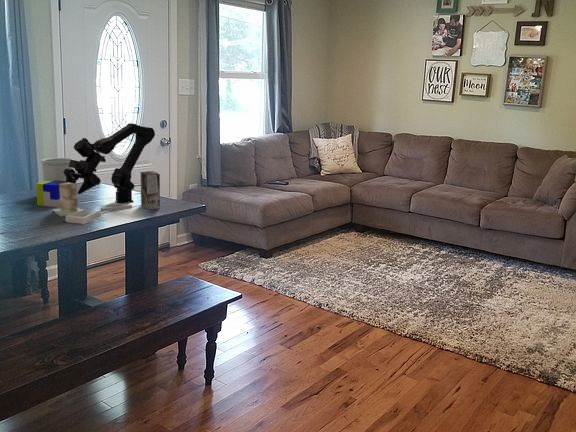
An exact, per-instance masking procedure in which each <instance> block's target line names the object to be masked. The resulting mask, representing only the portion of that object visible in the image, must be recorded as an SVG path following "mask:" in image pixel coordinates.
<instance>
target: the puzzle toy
mask: <svg viewBox="0 0 576 432" xmlns="http://www.w3.org/2000/svg"><path fill="white" fill-rule="evenodd" d="M62 183H66V181H57V180H46V181H44V180H43V181H40V182H37V183H35V188H36V189H35V190H36V205H37V206H42V207H43V206H45V207H53V208H58V207H60V189H59V184H62Z"/></svg>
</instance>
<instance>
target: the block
mask: <svg viewBox="0 0 576 432" xmlns="http://www.w3.org/2000/svg"><path fill="white" fill-rule="evenodd" d="M77 187H78V186H77V183H75V184H74V183H70V182H68V183H62V184H59V189H60V206H59V207H60V208H59V209H61V211H63V212H67V213H70V212H74V211H78V208H79V207H78V188H77Z"/></svg>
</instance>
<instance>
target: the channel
mask: <svg viewBox="0 0 576 432" xmlns="http://www.w3.org/2000/svg"><path fill="white" fill-rule="evenodd" d="M81 209H82V210H79V211H77V212H74V213H72V214H69V215H67V216H64V217H65V222H66V223H72V224H80V225H81V224H83V225H85V224H87V223H89V222H92V221H94V220H96V219H98V218H101V217H102V216H101V215H102V213H101V212H102V211H101V210H96V211H94V212H92V213H89V214H87V212H86V211H87V210H86V208H81Z"/></svg>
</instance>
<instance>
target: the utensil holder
mask: <svg viewBox="0 0 576 432" xmlns="http://www.w3.org/2000/svg"><path fill="white" fill-rule="evenodd" d="M70 160H75V159H74V158H71V157H50V158H49V157H48V158H42V159H41V161H40V162H41V164H42V177H43V181H46V180H57V181H66V176H65V175H64V173H63V172H64V170H65V169H67V168H69V169H73V170H74V171H75V168H72V167H69V163H70Z"/></svg>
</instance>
